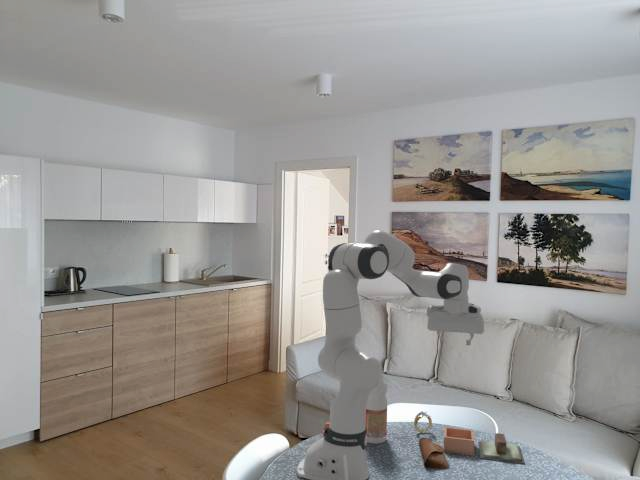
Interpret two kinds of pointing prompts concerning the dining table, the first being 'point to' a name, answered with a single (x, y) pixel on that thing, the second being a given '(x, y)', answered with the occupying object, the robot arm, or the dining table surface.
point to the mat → (501, 459)
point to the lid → (500, 449)
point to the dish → (458, 441)
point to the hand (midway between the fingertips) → (455, 344)
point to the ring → (421, 417)
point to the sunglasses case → (432, 455)
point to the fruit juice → (377, 414)
